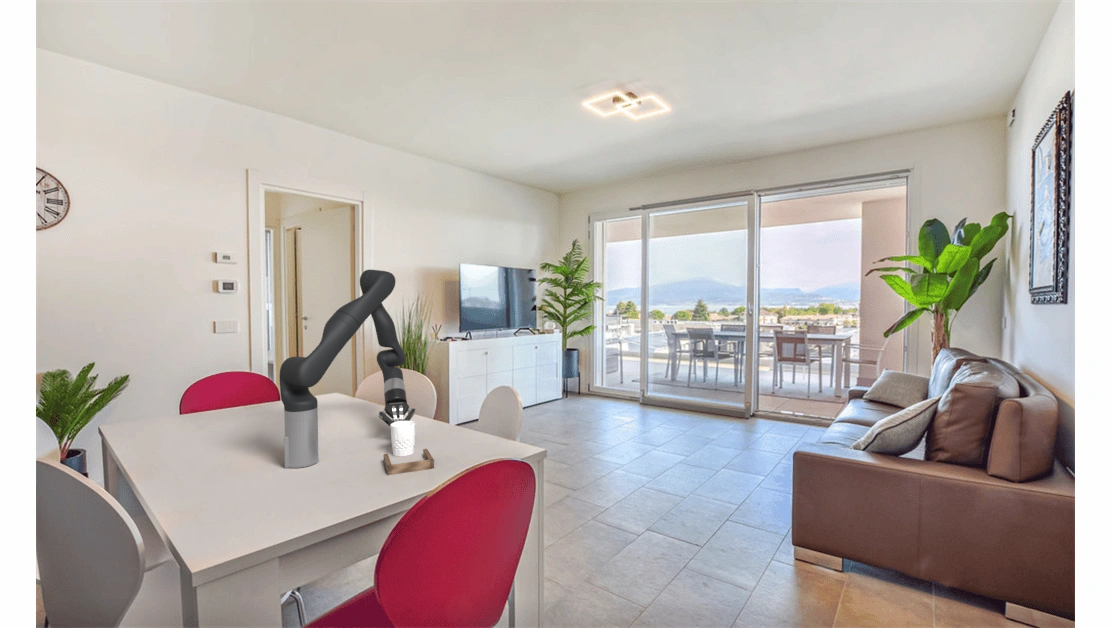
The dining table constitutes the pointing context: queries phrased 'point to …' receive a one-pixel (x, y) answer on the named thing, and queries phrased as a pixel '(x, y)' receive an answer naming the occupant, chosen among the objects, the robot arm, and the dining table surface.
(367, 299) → the robot arm
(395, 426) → the white cup
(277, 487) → the dining table surface
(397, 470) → the wooden bracket
